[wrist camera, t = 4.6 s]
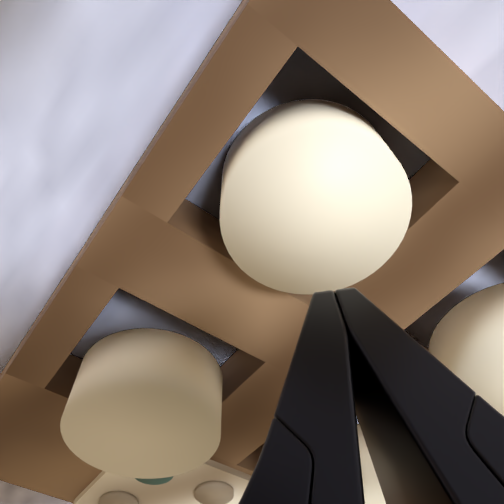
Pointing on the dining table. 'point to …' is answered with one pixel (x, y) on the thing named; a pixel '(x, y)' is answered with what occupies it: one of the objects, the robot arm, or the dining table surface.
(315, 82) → the dining table surface
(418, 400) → the robot arm
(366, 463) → the button
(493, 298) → the button
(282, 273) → the button
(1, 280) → the dining table surface
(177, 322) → the dining table surface
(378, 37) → the board
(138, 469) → the button
